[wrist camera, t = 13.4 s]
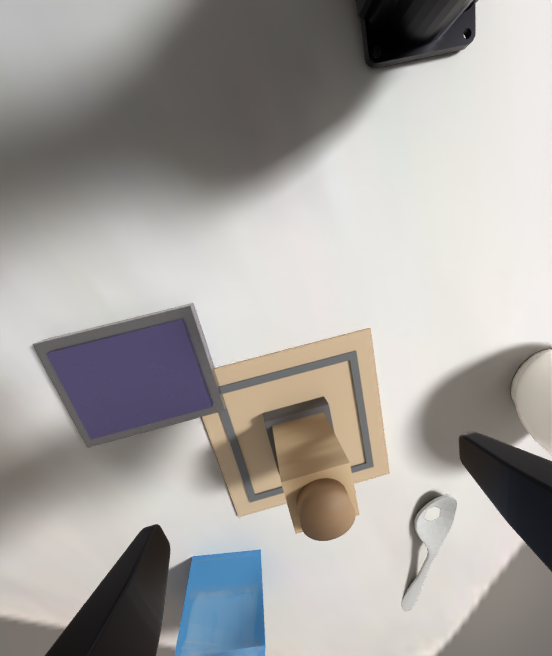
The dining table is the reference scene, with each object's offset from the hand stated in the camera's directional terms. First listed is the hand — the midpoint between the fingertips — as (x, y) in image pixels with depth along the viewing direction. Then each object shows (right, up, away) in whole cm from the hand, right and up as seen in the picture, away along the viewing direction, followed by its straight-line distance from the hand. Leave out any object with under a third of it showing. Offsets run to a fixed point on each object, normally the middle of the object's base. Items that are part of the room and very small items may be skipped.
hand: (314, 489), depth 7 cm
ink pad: (-11, +1, +11) cm, 15 cm away
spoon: (+14, -20, +20) cm, 32 cm away
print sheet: (+1, -4, +14) cm, 14 cm away
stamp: (+1, -4, +13) cm, 14 cm away
